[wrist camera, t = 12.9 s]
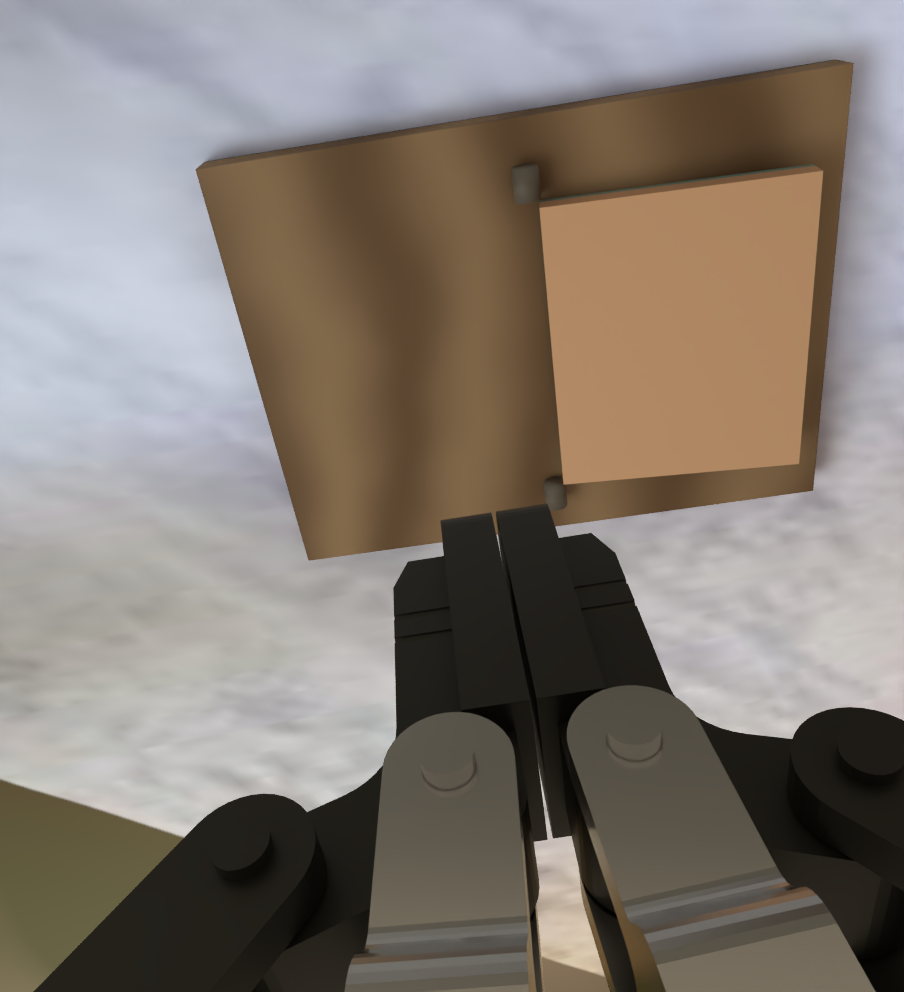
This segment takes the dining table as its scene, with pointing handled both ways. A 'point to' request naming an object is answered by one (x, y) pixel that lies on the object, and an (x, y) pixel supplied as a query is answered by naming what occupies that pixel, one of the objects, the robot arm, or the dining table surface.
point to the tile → (682, 323)
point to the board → (480, 298)
